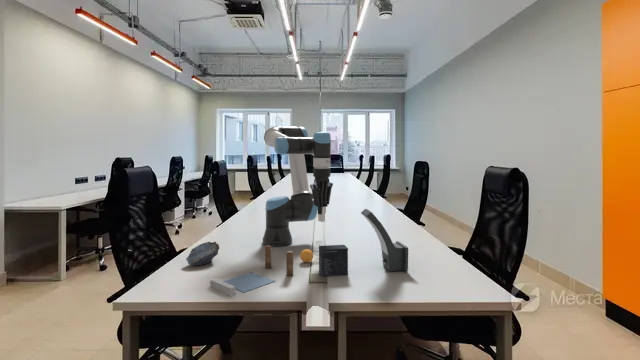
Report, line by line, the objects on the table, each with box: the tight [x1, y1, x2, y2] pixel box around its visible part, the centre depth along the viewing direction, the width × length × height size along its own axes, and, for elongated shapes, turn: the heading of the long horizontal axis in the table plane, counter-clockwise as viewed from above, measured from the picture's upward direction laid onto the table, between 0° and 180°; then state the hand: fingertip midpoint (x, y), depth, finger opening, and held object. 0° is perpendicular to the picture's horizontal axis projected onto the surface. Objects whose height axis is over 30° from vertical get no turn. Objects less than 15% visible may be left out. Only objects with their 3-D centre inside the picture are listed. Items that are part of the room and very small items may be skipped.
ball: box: [299, 248, 314, 263], centre depth 154 cm, size 6×6×6 cm
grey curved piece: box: [360, 208, 409, 273], centre depth 145 cm, size 11×17×24 cm, turn 100°
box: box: [318, 244, 349, 277], centre depth 140 cm, size 11×7×10 cm, turn 100°
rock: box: [185, 241, 220, 266], centre depth 153 cm, size 16×8×10 cm
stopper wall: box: [209, 277, 237, 297], centre depth 123 cm, size 12×2×2 cm, turn 49°
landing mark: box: [222, 271, 276, 293], centre depth 131 cm, size 14×14×1 cm
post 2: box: [285, 250, 294, 277], centre depth 138 cm, size 3×3×9 cm
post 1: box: [264, 245, 272, 270], centre depth 146 cm, size 3×3×9 cm
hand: (321, 221), depth 160 cm, fingers closed
